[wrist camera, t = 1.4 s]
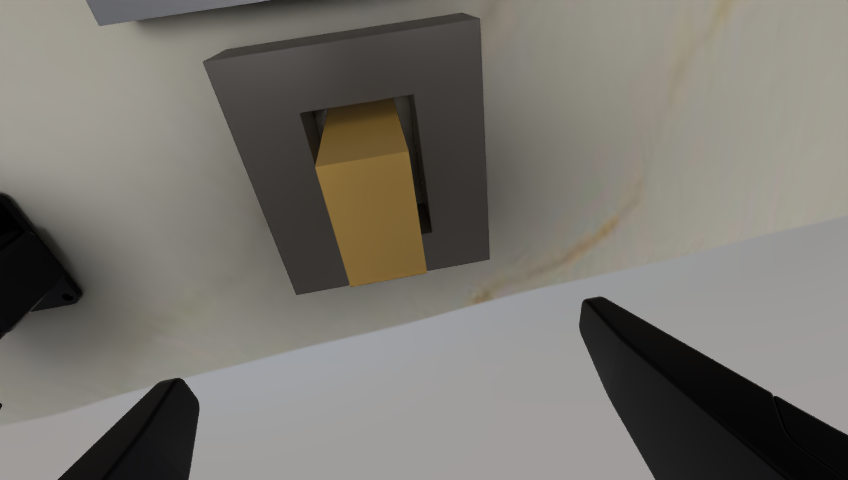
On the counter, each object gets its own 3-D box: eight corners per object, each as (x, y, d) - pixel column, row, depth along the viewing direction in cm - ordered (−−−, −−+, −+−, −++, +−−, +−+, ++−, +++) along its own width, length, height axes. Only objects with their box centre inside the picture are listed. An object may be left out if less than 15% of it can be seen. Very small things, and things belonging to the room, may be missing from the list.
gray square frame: (303, 260, 23) (296, 294, 20) (226, 49, 17) (202, 62, 14) (475, 229, 23) (489, 259, 21) (462, 12, 17) (479, 18, 15)
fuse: (352, 202, 21) (350, 286, 15) (328, 108, 18) (314, 167, 13) (408, 193, 21) (427, 272, 16) (392, 97, 19) (408, 151, 13)
